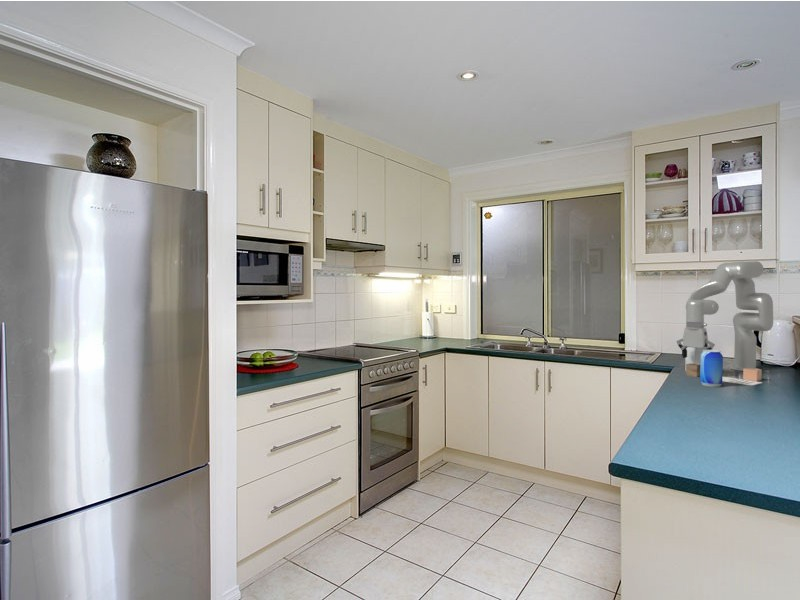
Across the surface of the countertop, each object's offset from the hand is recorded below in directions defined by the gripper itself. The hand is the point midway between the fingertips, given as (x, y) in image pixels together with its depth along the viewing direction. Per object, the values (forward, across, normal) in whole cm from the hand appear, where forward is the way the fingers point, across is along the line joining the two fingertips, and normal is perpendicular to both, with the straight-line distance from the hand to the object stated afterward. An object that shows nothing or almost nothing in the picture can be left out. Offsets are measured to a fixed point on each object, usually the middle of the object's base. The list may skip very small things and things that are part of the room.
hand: (695, 358), depth 230 cm
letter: (+9, -17, -3) cm, 19 cm away
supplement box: (+10, +4, -13) cm, 16 cm away
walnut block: (+9, 0, +1) cm, 9 cm away
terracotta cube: (+10, -20, -13) cm, 25 cm away
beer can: (+8, -15, +18) cm, 25 cm away
